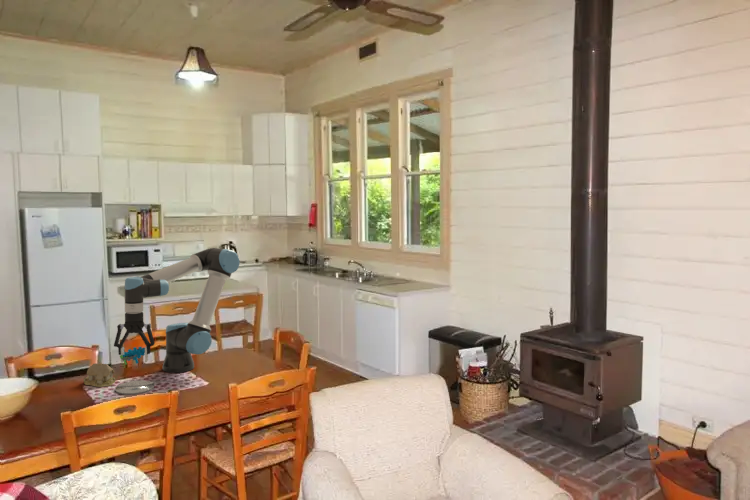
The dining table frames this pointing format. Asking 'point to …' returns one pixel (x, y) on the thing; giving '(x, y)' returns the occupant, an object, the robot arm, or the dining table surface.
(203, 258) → the robot arm
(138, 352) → the gear
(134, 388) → the hub plate
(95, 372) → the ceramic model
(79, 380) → the dining table surface
